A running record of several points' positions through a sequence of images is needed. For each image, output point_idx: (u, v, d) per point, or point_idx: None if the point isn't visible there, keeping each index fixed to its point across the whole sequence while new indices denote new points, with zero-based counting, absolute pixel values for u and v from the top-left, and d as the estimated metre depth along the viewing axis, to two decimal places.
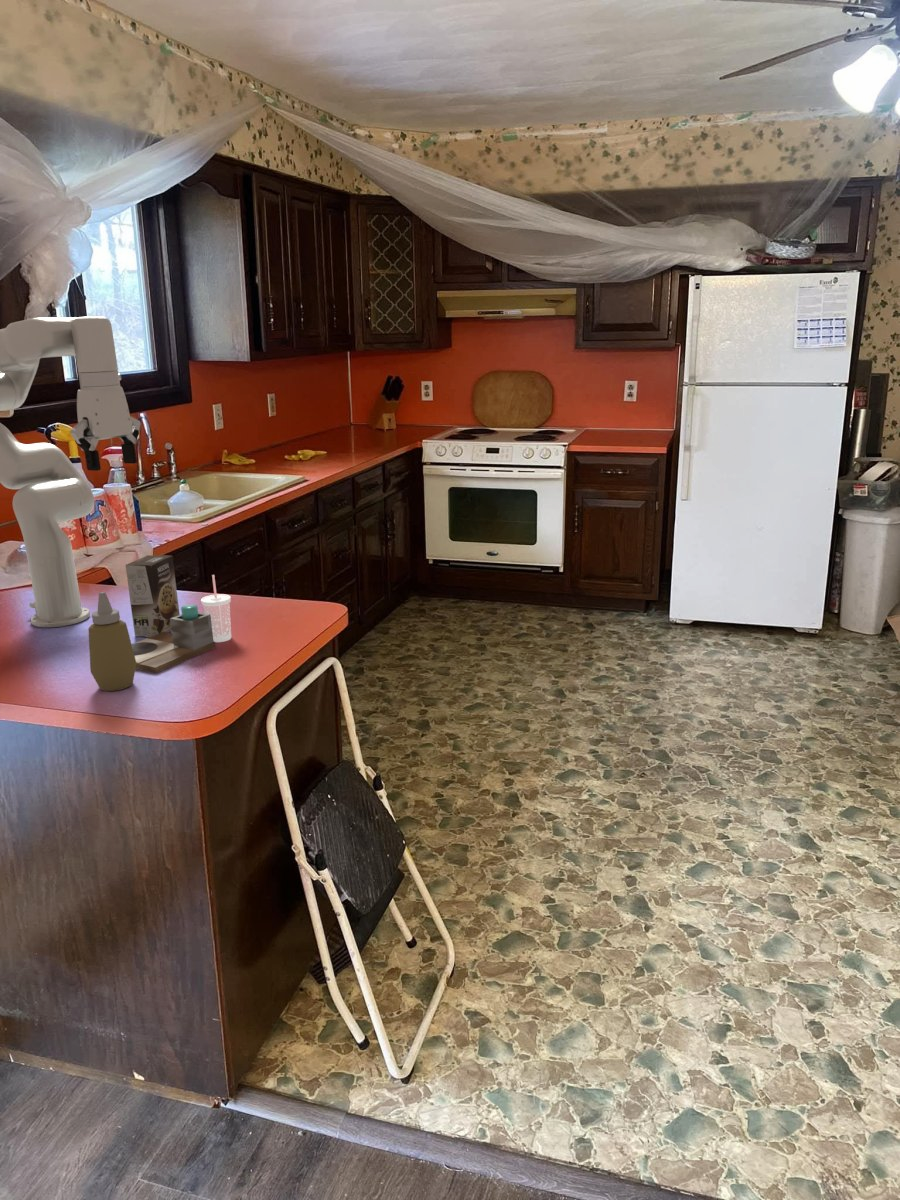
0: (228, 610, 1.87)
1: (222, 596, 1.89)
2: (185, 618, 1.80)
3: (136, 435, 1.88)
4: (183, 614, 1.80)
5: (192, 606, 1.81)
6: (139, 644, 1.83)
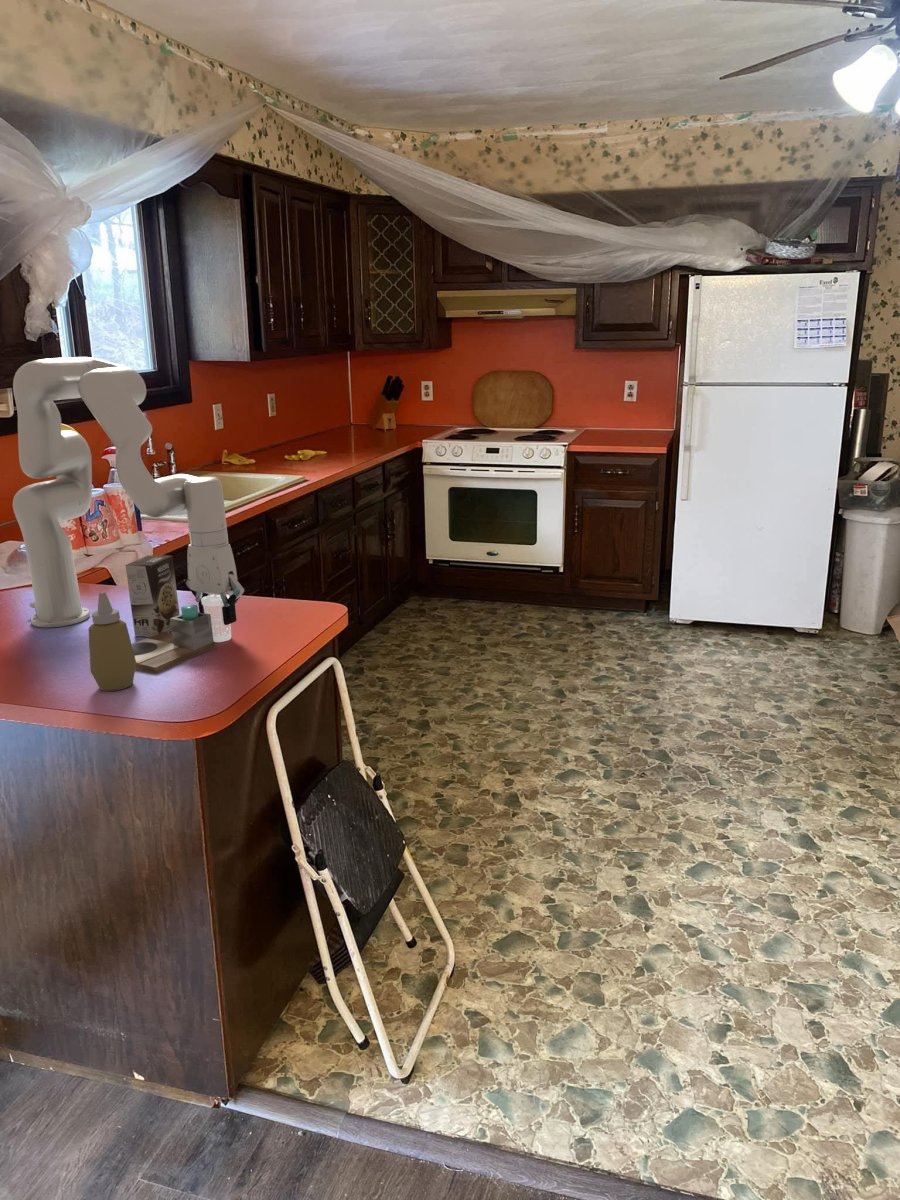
0: None
1: None
2: (185, 618, 1.80)
3: None
4: (183, 614, 1.80)
5: (192, 606, 1.81)
6: (139, 644, 1.83)
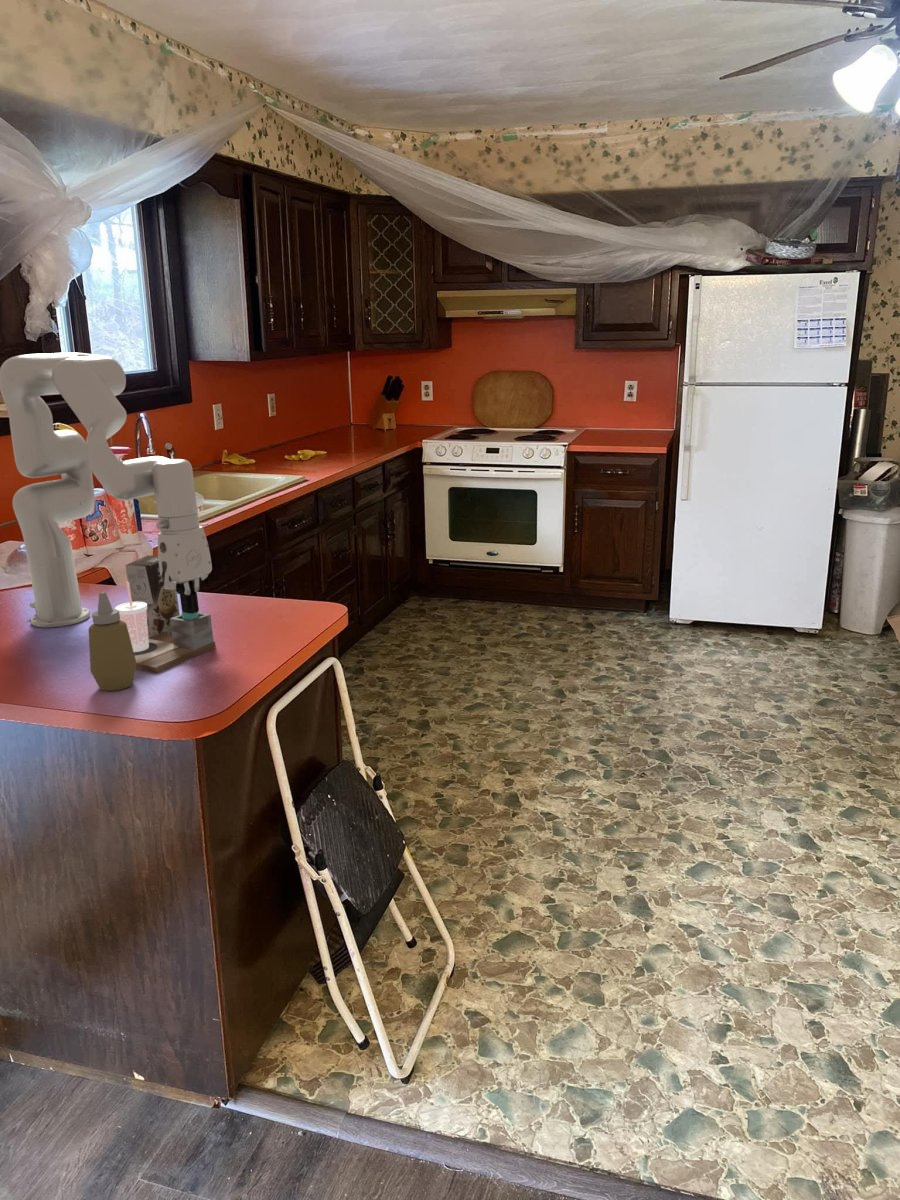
0: (144, 618, 1.79)
1: (138, 604, 1.80)
2: None
3: None
4: (184, 619, 1.81)
5: None
6: None
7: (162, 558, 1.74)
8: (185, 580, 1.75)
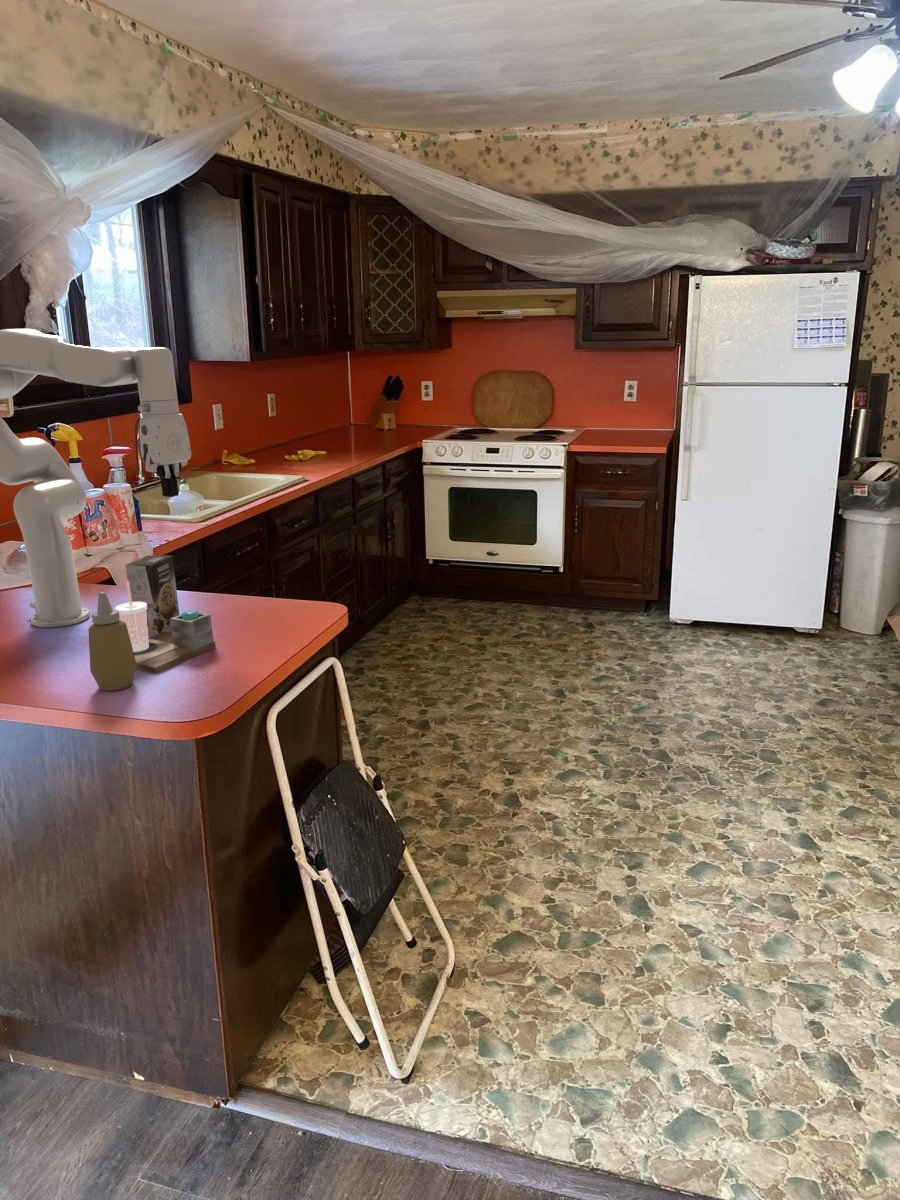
0: (144, 618, 1.79)
1: (138, 604, 1.80)
2: None
3: None
4: None
5: (193, 612, 1.82)
6: None
7: (143, 440, 1.84)
8: (165, 462, 1.86)
